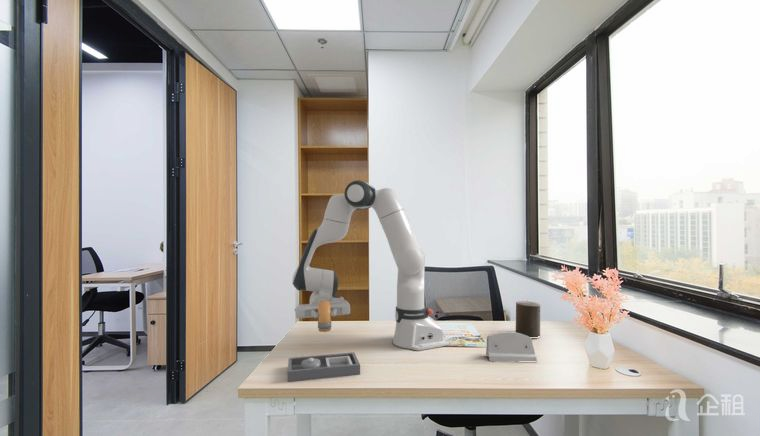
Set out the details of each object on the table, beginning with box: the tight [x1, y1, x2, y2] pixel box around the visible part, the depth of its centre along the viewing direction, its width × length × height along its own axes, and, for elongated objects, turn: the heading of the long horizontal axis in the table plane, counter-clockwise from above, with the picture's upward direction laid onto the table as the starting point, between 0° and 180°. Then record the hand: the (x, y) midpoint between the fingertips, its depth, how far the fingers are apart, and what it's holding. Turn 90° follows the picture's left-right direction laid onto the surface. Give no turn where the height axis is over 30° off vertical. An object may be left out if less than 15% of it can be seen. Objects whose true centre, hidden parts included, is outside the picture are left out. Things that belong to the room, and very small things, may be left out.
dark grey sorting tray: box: [287, 351, 361, 383], centre depth 111 cm, size 22×11×4 cm, turn 104°
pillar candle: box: [515, 299, 541, 337], centre depth 148 cm, size 10×10×15 cm
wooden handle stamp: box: [317, 301, 332, 333], centre depth 124 cm, size 5×5×10 cm
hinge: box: [485, 331, 538, 362], centre depth 123 cm, size 17×5×10 cm, turn 86°
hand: (324, 315), depth 123 cm, fingers closed on wooden handle stamp, 4 cm apart
